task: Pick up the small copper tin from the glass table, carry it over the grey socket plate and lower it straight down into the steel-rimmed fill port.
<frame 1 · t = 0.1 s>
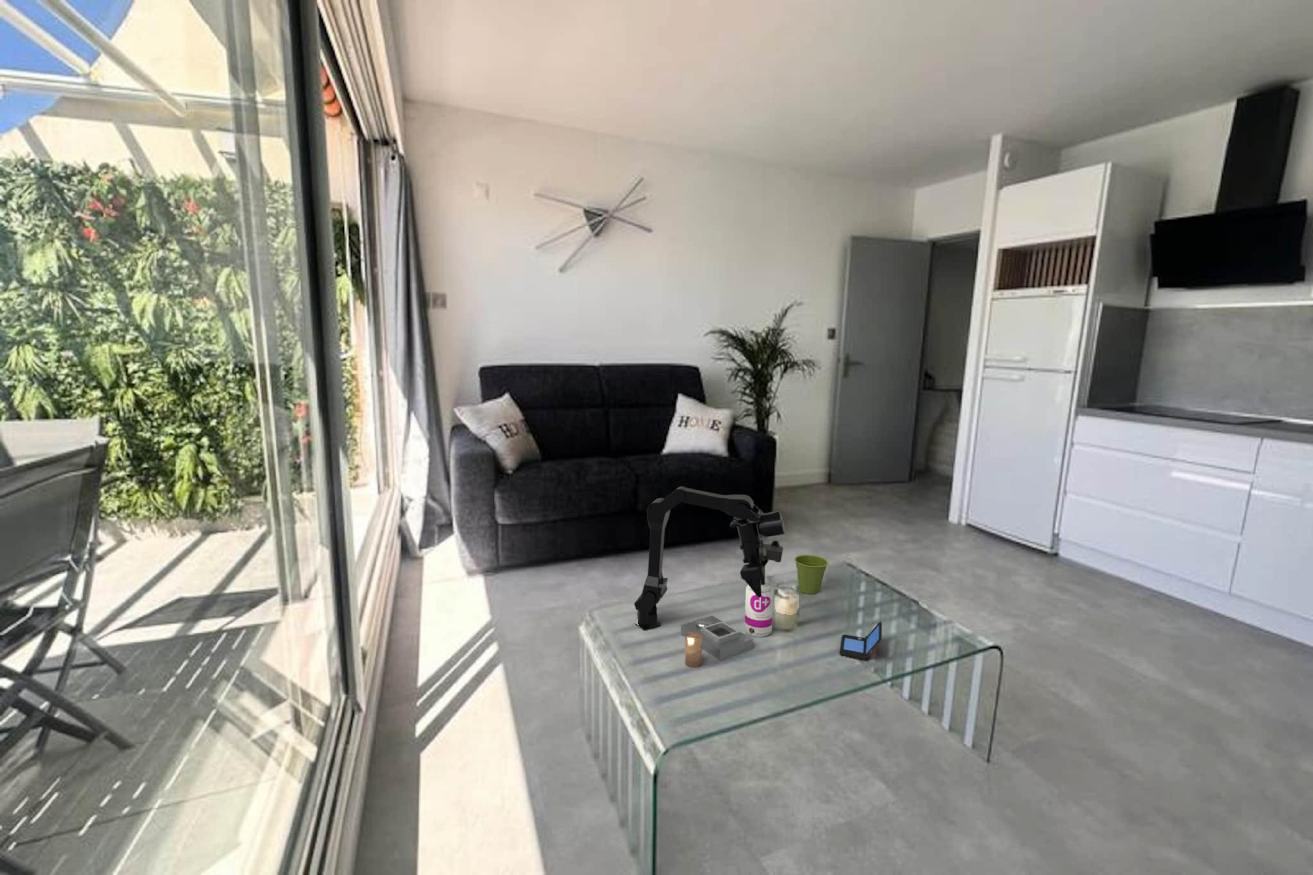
hand: (761, 590, 168), 15 cm above the table, tool pointing down, fingers open, 9 cm apart
handheld game console: (860, 651, 166), on the table
grey socket plate: (715, 641, 169), on the table
plant pot: (809, 591, 208), on the table
copper tin: (693, 663, 157), on the table
supplement can: (757, 632, 176), on the table
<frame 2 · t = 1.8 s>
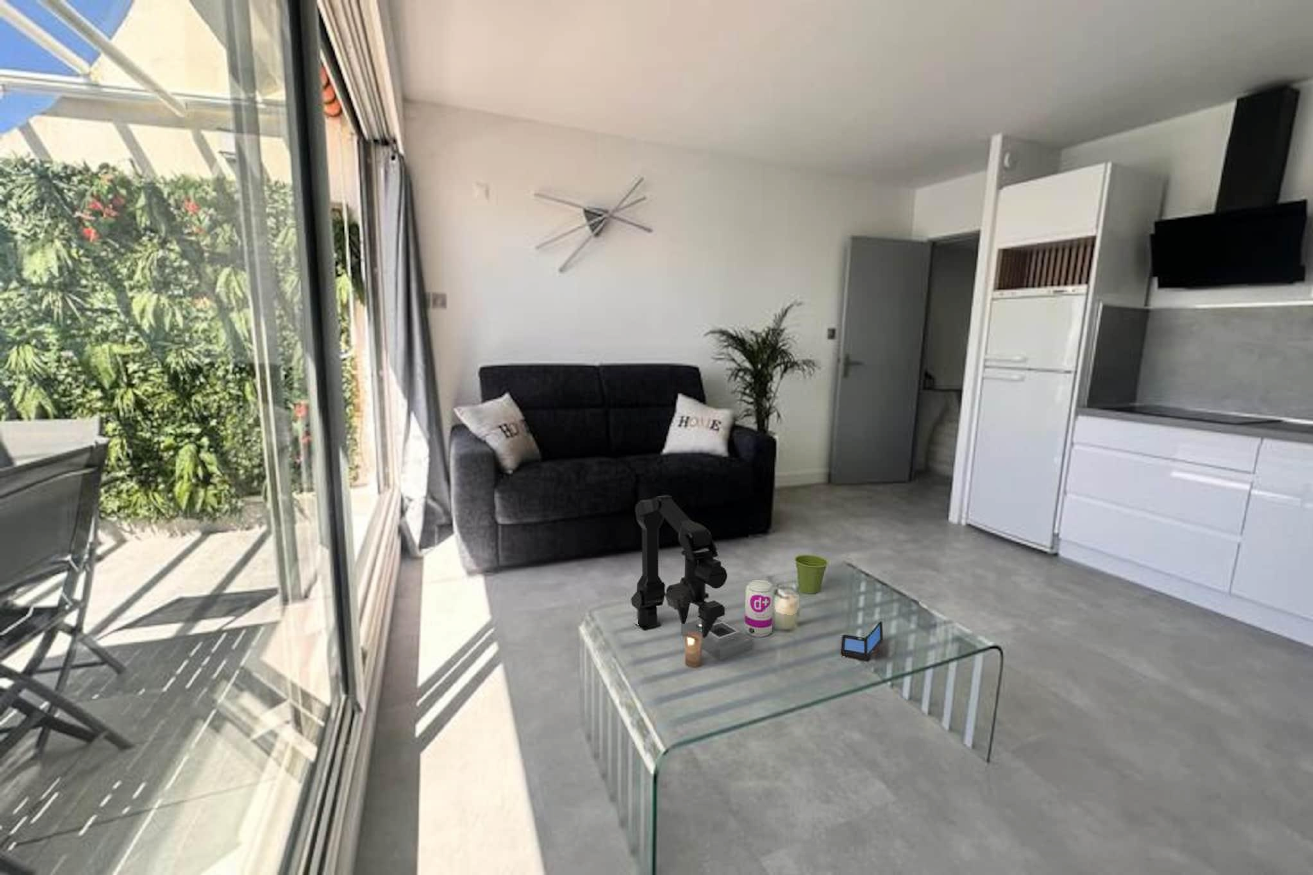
hand: (693, 630, 156), 9 cm above the table, tool pointing down, fingers open, 9 cm apart
nothing on the table moved.
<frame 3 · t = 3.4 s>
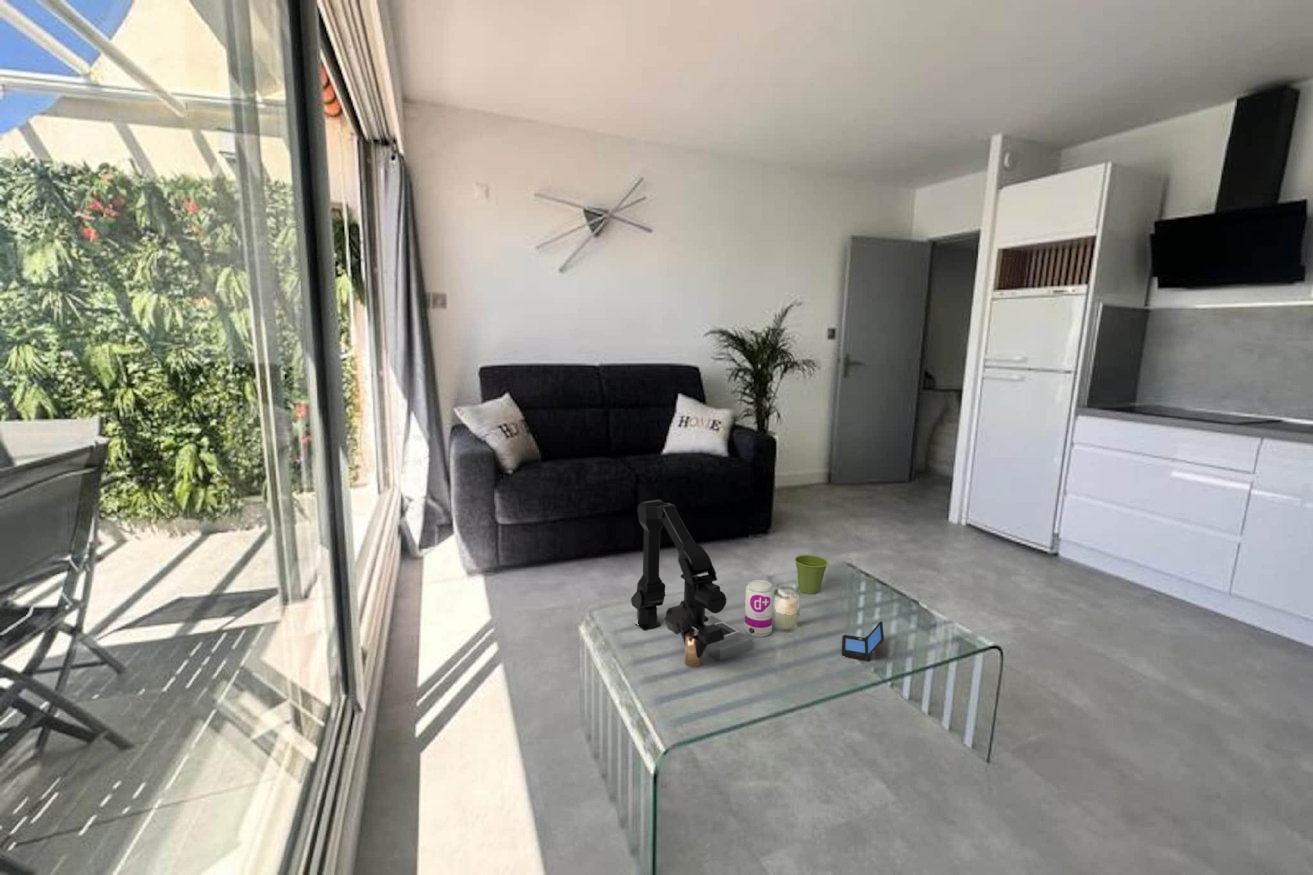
hand: (693, 653, 157), 3 cm above the table, tool pointing down, fingers closed on copper tin, 4 cm apart
copper tin: (693, 663, 157), on the table, touching gripper
everything else where it was.
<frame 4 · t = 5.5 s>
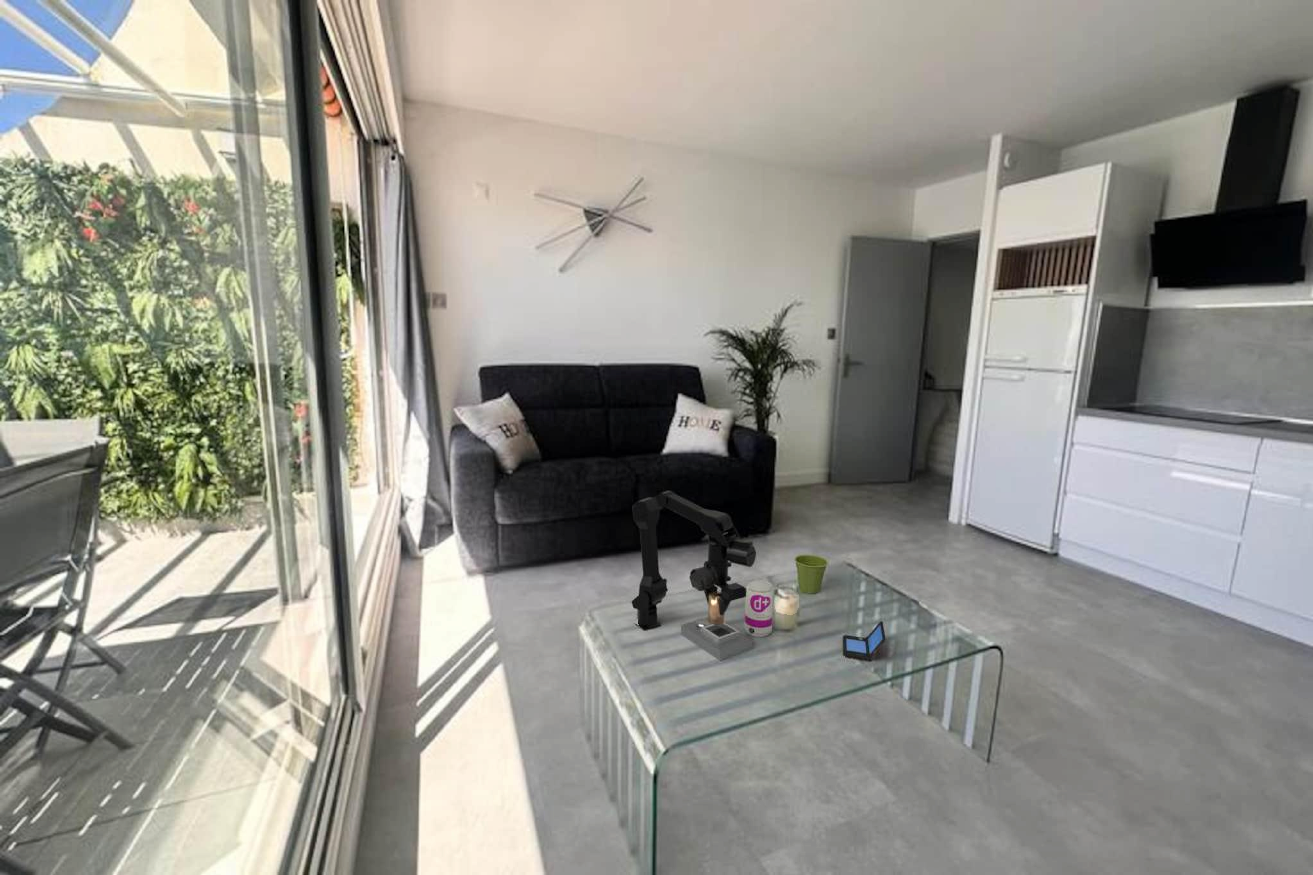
hand: (716, 611, 164), 11 cm above the table, tool pointing down, fingers closed on copper tin, 4 cm apart
copper tin: (716, 621, 164), point 8 cm above the table, touching gripper
everything else where it was.
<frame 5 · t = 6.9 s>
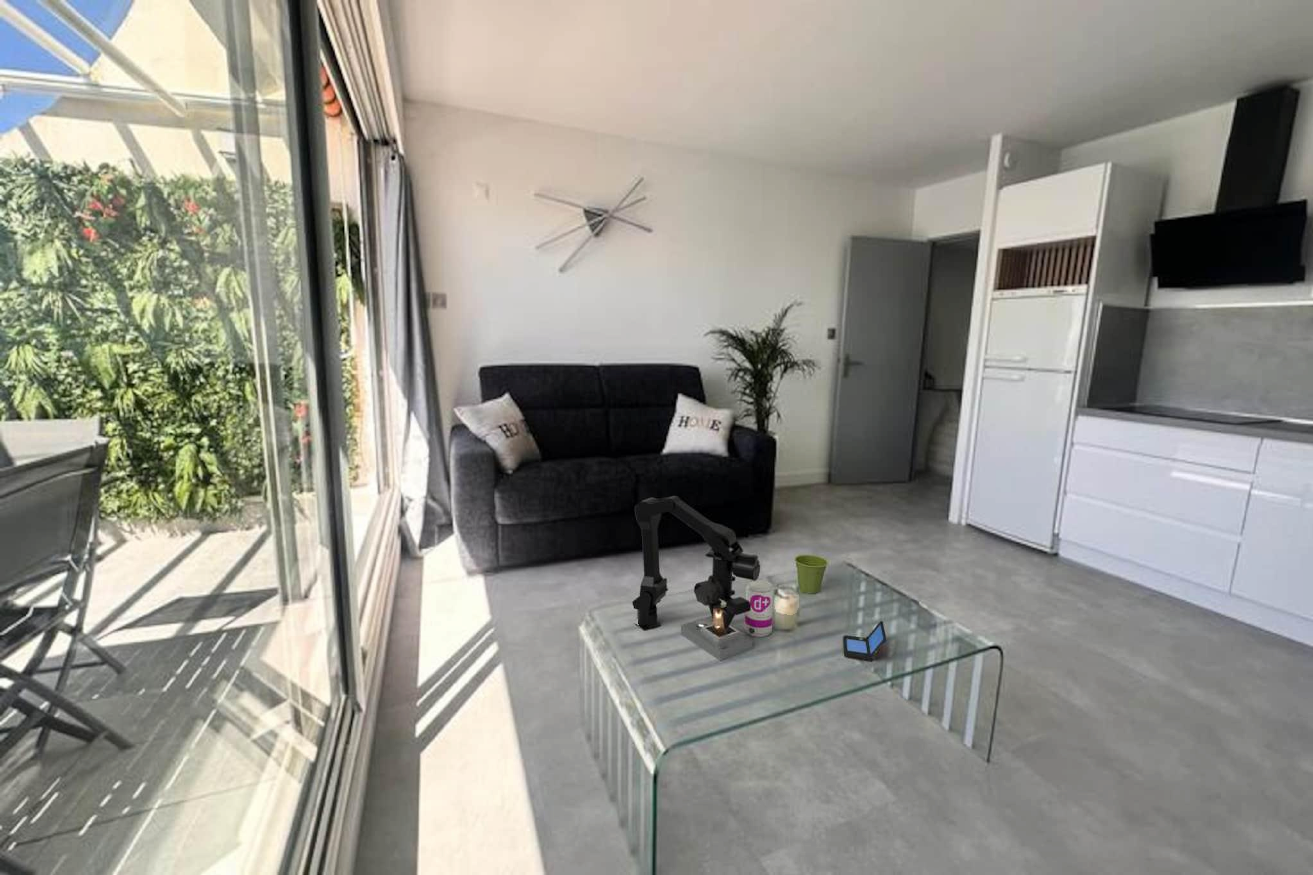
hand: (720, 624, 167), 6 cm above the table, tool pointing down, fingers closed on copper tin, 4 cm apart
copper tin: (720, 634, 167), point 3 cm above the table, touching gripper
everything else where it was.
when the fingers open (6 cm above the table, at t = 8.0 s): copper tin drops 1 cm, resting on grey socket plate.
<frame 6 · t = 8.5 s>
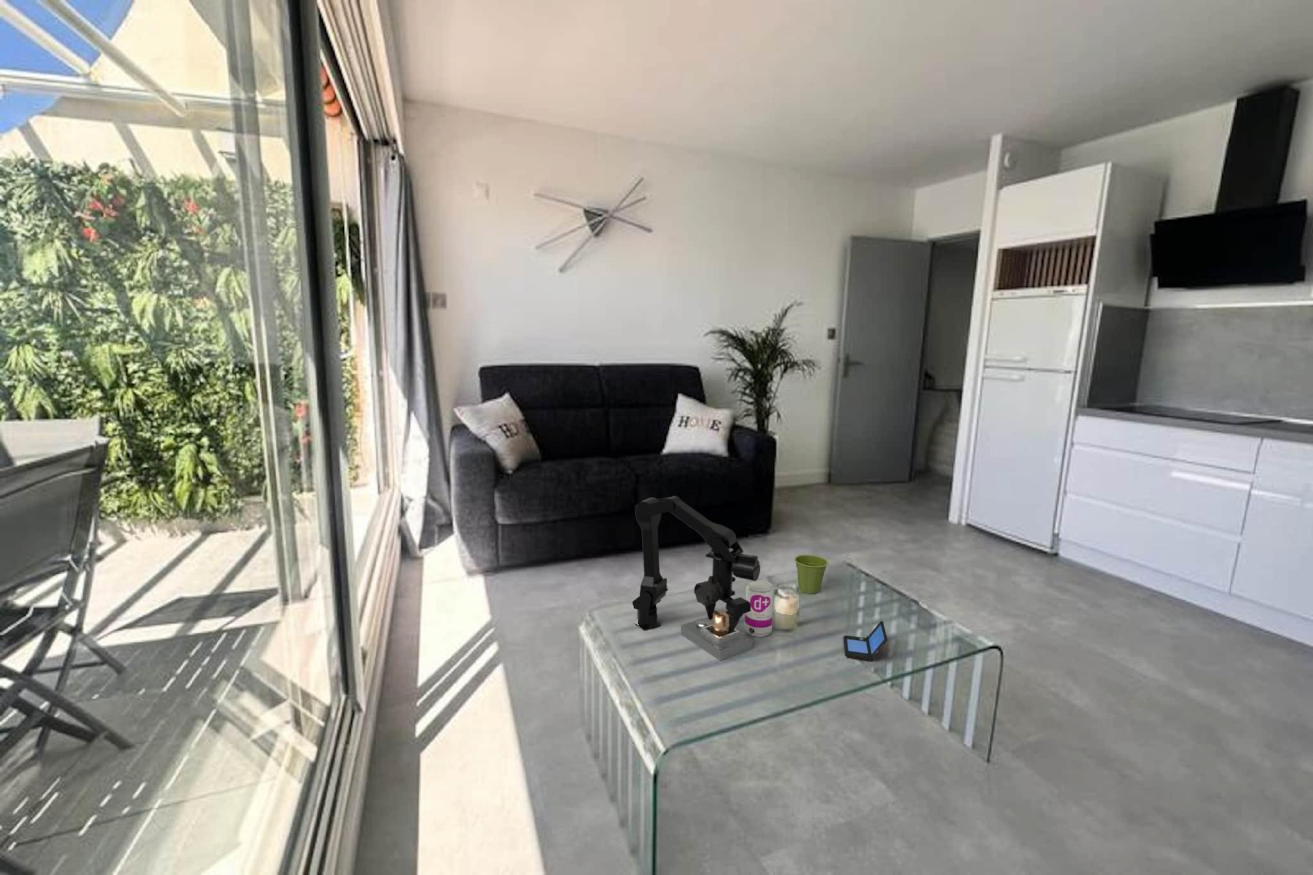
hand: (720, 625, 167), 6 cm above the table, tool pointing down, fingers open, 9 cm apart
copper tin: (720, 639, 167), point 1 cm above the table, touching grey socket plate
everything else where it was.
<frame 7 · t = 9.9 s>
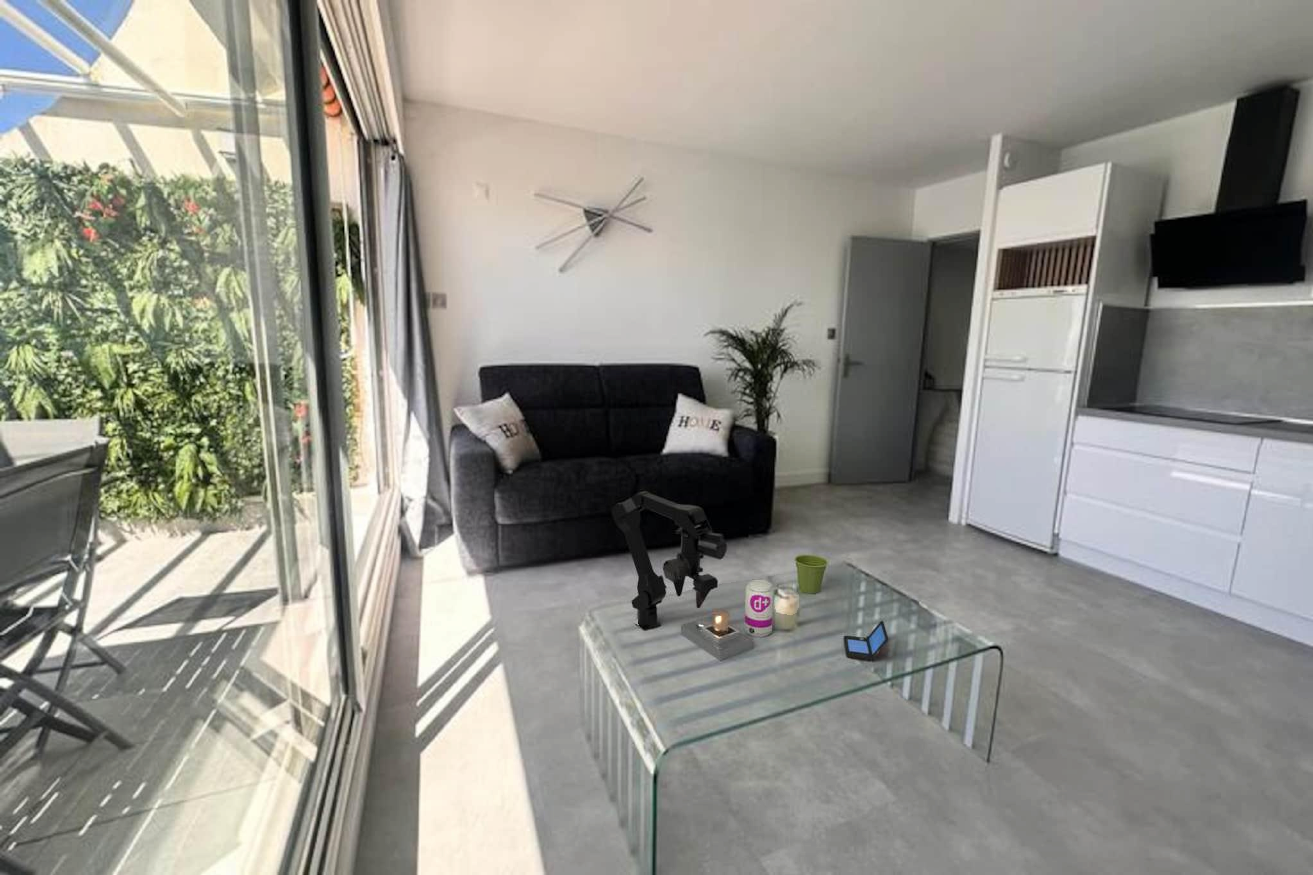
hand: (688, 601, 168), 12 cm above the table, tool pointing down, fingers open, 9 cm apart
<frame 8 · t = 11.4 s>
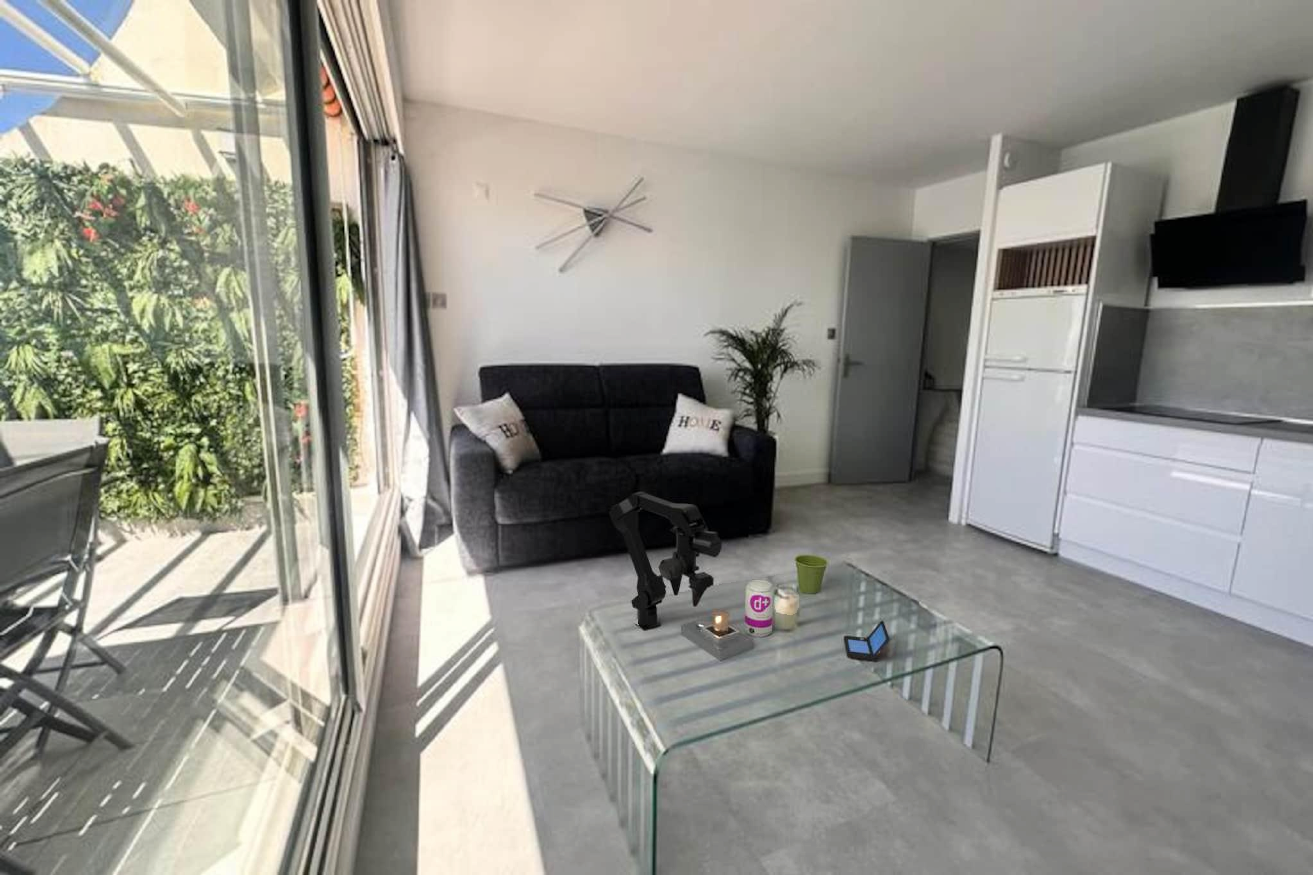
hand: (685, 600, 169), 12 cm above the table, tool pointing down, fingers open, 9 cm apart
at the end: copper tin 0.1 cm from the target spot on the grey socket plate, point 1.5 cm above the grey socket plate's base; copper tin tilted 0°; the gripper is holding nothing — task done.
